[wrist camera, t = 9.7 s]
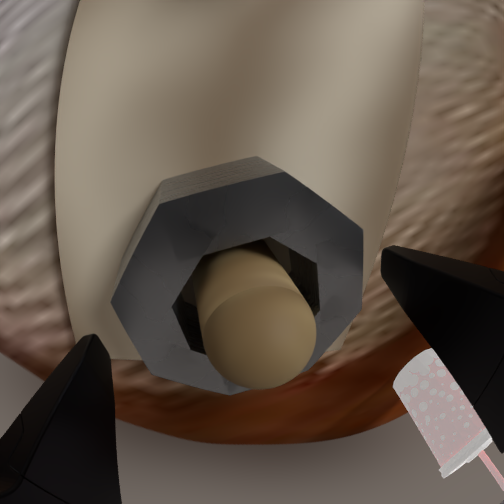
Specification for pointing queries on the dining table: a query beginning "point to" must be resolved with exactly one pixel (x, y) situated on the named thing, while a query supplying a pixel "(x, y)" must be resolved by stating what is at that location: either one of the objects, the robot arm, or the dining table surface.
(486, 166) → the dining table surface
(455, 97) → the dining table surface
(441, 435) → the beverage cup
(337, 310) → the steel ring
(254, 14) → the base board
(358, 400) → the dining table surface
